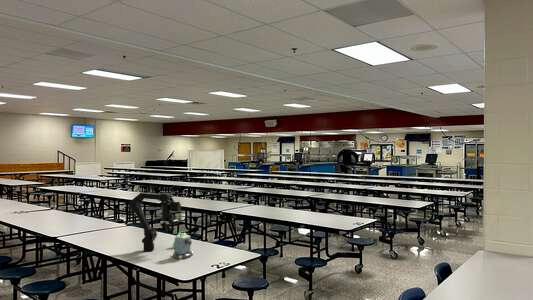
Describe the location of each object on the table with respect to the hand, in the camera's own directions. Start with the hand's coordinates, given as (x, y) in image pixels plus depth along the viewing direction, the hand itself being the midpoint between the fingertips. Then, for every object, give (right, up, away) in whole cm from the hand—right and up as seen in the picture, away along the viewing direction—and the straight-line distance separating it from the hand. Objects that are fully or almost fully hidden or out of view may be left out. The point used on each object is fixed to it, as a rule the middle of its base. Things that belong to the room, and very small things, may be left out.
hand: (166, 233), depth 258 cm
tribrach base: (+14, -13, -12) cm, 23 cm away
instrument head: (+16, -10, -13) cm, 23 cm away
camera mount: (+9, -14, +13) cm, 20 cm away
